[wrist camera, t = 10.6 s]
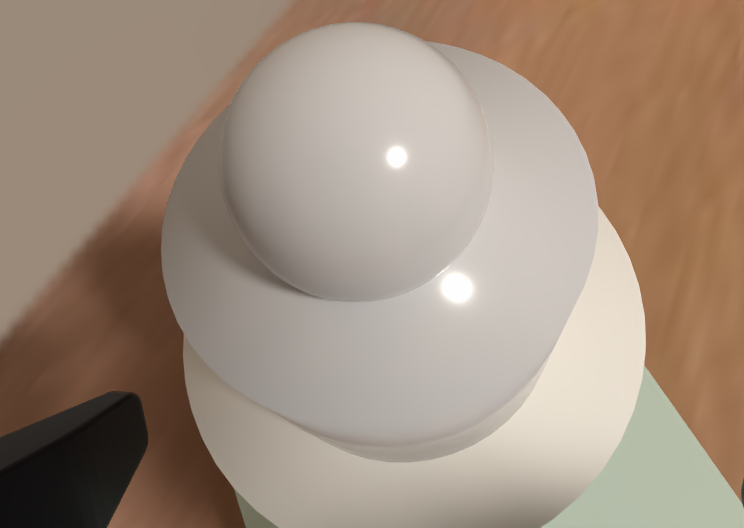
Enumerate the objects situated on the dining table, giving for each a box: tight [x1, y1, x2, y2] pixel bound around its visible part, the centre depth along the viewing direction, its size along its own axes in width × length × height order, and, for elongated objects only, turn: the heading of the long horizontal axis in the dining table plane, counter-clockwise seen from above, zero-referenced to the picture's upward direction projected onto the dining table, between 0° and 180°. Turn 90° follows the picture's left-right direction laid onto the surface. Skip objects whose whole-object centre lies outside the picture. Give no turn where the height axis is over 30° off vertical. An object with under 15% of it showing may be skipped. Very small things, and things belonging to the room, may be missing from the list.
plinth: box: [234, 365, 744, 528], centre depth 17 cm, size 12×12×3 cm
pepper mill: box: [161, 22, 646, 528], centre depth 10 cm, size 6×6×14 cm
